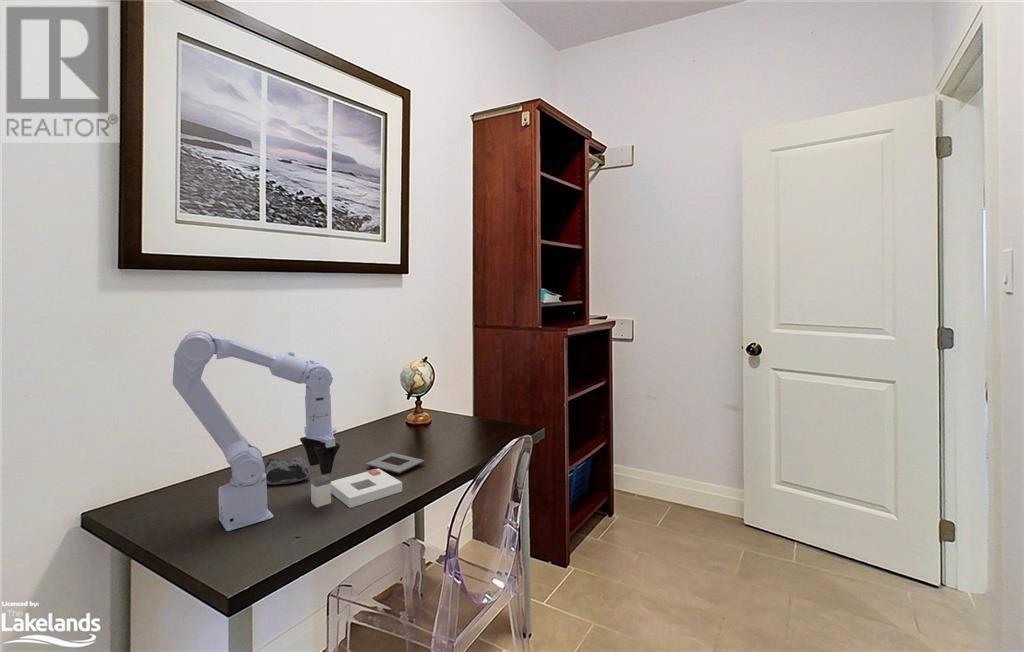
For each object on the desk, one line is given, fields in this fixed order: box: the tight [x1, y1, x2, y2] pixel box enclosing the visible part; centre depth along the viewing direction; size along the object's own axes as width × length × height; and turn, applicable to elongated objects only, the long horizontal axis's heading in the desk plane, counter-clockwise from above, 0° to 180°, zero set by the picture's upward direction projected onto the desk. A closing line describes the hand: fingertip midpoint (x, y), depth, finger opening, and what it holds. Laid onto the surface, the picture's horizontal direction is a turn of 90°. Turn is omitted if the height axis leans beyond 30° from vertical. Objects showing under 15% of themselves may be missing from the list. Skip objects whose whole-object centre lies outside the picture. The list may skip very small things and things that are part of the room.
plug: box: [309, 474, 332, 508], centre depth 117 cm, size 4×4×6 cm
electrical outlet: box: [365, 452, 425, 475], centre depth 140 cm, size 13×10×2 cm
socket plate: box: [331, 468, 403, 509], centre depth 124 cm, size 14×13×3 cm
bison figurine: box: [264, 456, 311, 486], centre depth 131 cm, size 12×7×10 cm
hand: (320, 469), depth 117 cm, fingers open, 7 cm apart
